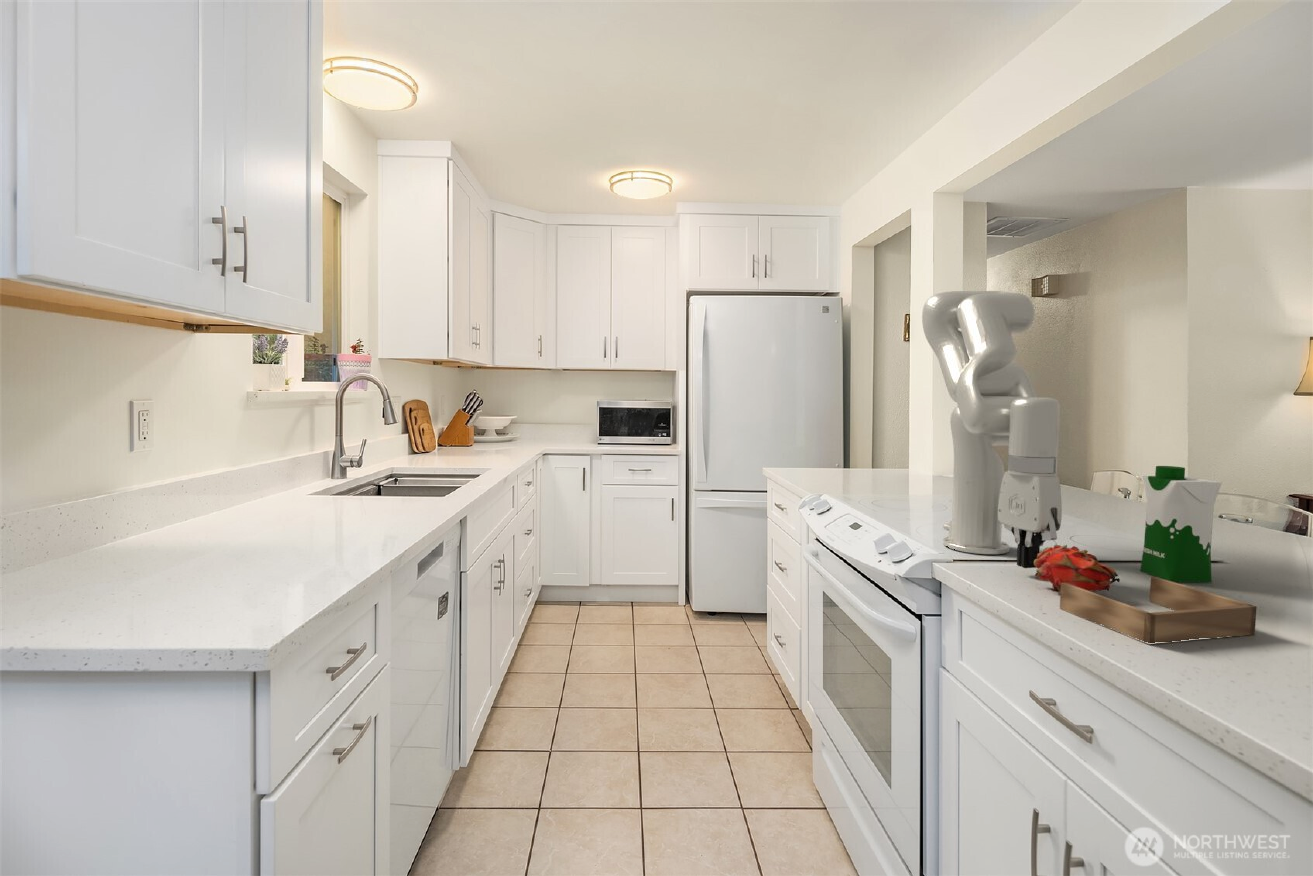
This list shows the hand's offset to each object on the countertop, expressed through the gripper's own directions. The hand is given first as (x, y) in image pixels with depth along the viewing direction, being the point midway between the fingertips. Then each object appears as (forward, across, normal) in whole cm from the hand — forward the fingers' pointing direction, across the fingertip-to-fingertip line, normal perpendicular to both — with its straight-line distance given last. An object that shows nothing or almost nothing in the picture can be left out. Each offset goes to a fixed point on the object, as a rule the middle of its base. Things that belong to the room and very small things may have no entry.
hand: (1027, 566), depth 109 cm
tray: (+2, +23, 0) cm, 23 cm away
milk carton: (+2, +6, +26) cm, 27 cm away
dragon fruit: (+2, +10, 0) cm, 10 cm away
